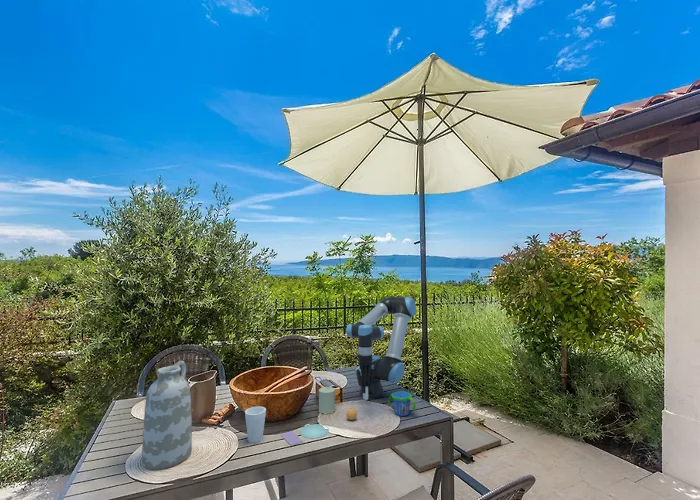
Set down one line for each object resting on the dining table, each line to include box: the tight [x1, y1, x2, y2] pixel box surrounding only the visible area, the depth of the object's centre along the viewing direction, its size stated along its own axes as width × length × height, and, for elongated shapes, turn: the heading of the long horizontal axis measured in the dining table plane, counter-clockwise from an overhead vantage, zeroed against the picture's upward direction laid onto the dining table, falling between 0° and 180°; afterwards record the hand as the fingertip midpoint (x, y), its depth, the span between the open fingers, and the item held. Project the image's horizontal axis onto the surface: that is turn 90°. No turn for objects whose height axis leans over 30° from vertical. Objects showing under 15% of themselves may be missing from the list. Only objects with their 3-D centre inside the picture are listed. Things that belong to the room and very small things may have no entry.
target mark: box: [299, 423, 329, 439], centre depth 165 cm, size 14×14×1 cm
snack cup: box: [387, 390, 416, 417], centre depth 184 cm, size 16×10×10 cm
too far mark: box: [280, 430, 304, 446], centre depth 158 cm, size 6×12×1 cm, turn 34°
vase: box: [141, 360, 193, 471], centre depth 145 cm, size 20×19×38 cm
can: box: [318, 386, 336, 414], centre depth 189 cm, size 9×9×12 cm
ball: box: [346, 408, 358, 421], centre depth 177 cm, size 6×6×6 cm
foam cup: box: [244, 406, 267, 443], centre depth 158 cm, size 10×9×13 cm
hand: (365, 398), depth 183 cm, fingers closed
